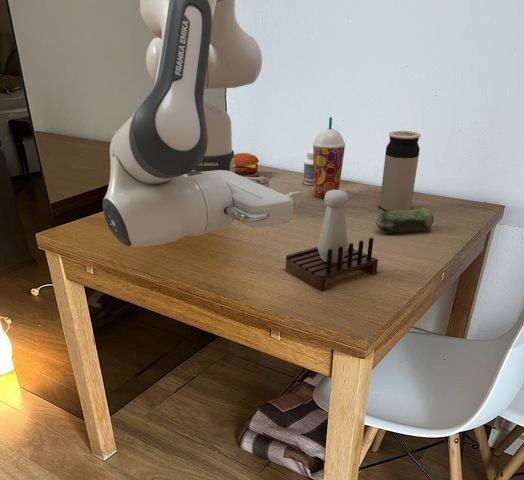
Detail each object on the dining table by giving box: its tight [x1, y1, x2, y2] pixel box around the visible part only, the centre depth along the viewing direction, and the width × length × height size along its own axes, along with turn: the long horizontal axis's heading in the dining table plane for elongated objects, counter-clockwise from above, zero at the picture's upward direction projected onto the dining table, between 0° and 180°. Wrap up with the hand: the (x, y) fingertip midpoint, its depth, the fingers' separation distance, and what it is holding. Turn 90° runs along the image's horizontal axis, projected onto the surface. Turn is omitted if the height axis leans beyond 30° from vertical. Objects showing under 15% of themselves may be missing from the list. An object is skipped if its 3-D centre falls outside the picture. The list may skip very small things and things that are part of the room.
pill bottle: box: [303, 149, 314, 186], centre depth 157 cm, size 5×5×9 cm
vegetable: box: [374, 207, 435, 234], centre depth 124 cm, size 14×5×5 cm, turn 102°
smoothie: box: [312, 116, 346, 199], centre depth 143 cm, size 8×8×20 cm
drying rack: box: [285, 237, 379, 291], centre depth 105 cm, size 11×14×7 cm
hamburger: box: [234, 152, 260, 178], centre depth 164 cm, size 9×10×7 cm
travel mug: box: [379, 130, 421, 211], centre depth 135 cm, size 8×8×18 cm
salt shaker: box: [317, 189, 349, 263], centre depth 102 cm, size 6×6×13 cm
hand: (282, 189), depth 91 cm, fingers open, 8 cm apart
